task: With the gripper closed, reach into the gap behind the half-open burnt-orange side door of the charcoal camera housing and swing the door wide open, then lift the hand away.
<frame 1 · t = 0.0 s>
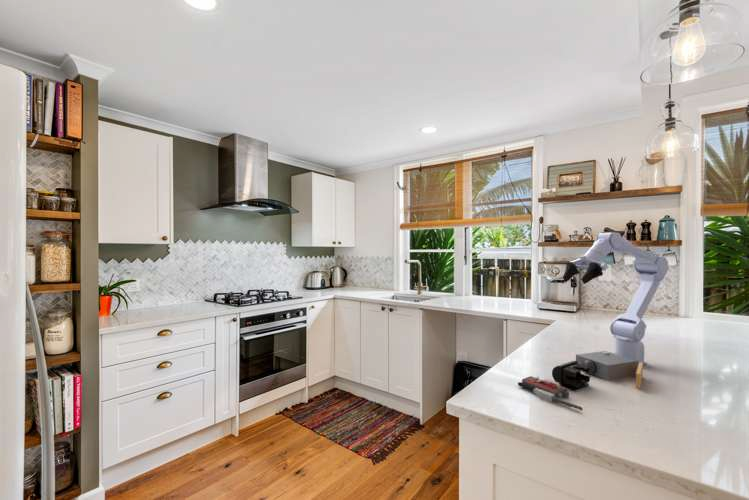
hand: (573, 280, 124), 32 cm above the counter, tool tilted 50°, fingers open, 7 cm apart
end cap: (570, 385, 111), on the counter
side door: (639, 374, 113), point 3 cm above the counter, hinge at 30.0°
camera housing: (606, 371, 123), on the counter
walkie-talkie: (552, 398, 102), on the counter
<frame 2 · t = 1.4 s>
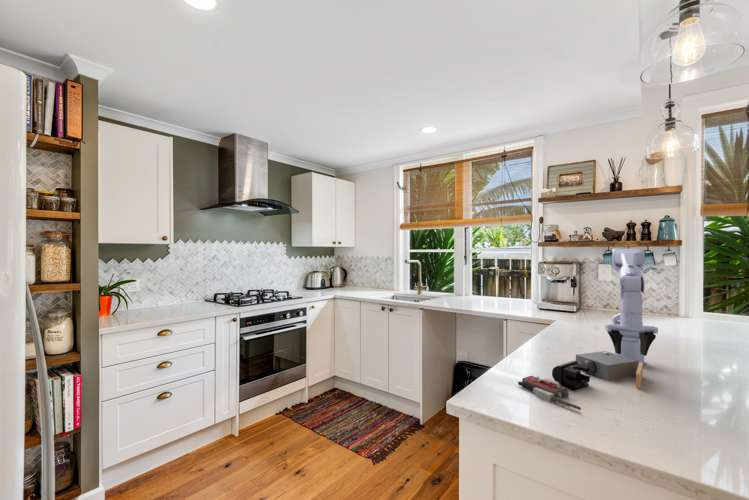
hand: (630, 354, 113), 9 cm above the counter, tool pointing down, fingers open, 7 cm apart
nothing on the counter moved.
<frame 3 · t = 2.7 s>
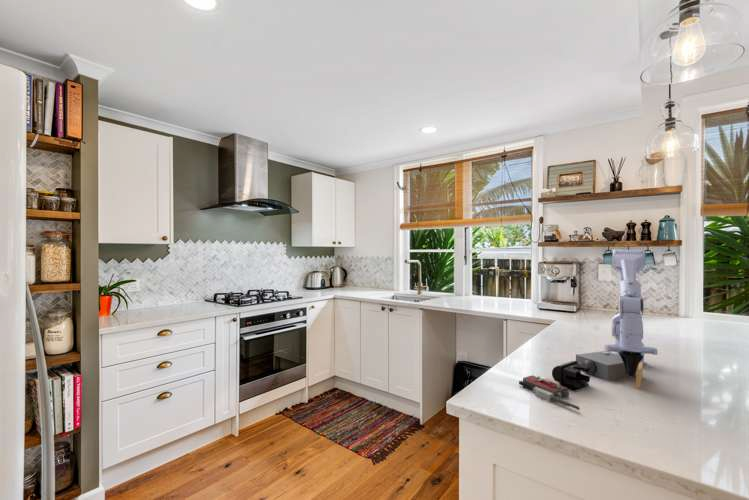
hand: (630, 374, 113), 3 cm above the counter, tool pointing down, fingers closed
side door: (639, 374, 113), point 3 cm above the counter, hinge at 30.0°, touching gripper
everything else where it was.
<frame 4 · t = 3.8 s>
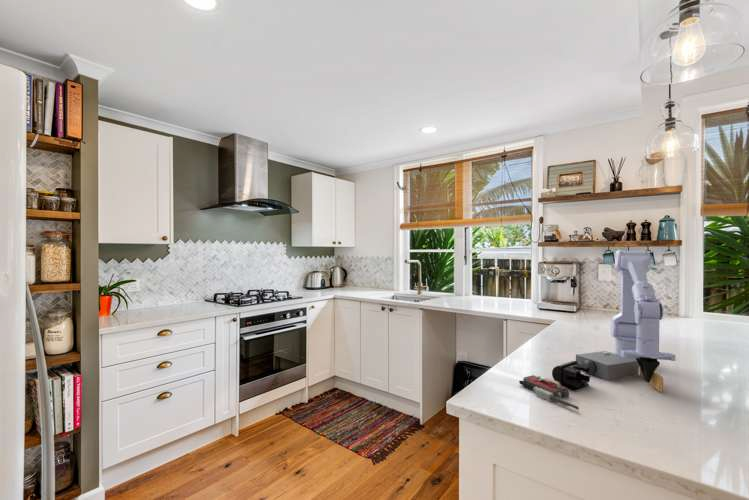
hand: (647, 381, 110), 2 cm above the counter, tool pointing down, fingers closed
side door: (650, 376, 112), point 3 cm above the counter, hinge at 52.5°, touching gripper
everything else where it was.
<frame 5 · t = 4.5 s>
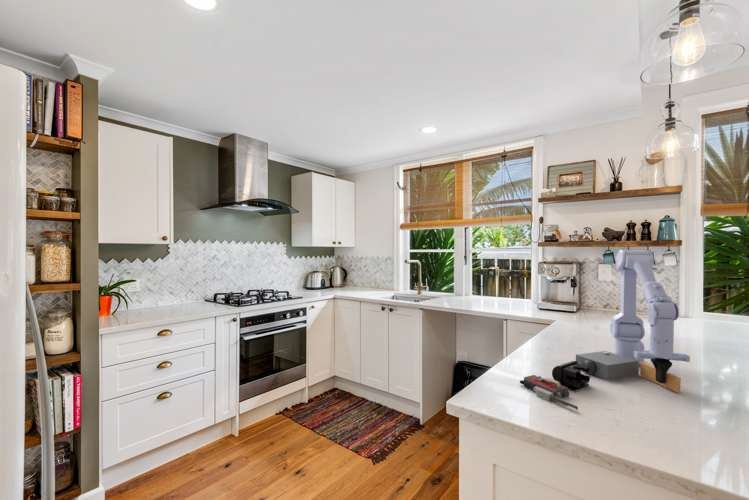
hand: (660, 382, 109), 2 cm above the counter, tool pointing down, fingers closed, pressing on side door
side door: (659, 376, 112), point 3 cm above the counter, hinge at 72.5°, touching gripper
everything else where it was.
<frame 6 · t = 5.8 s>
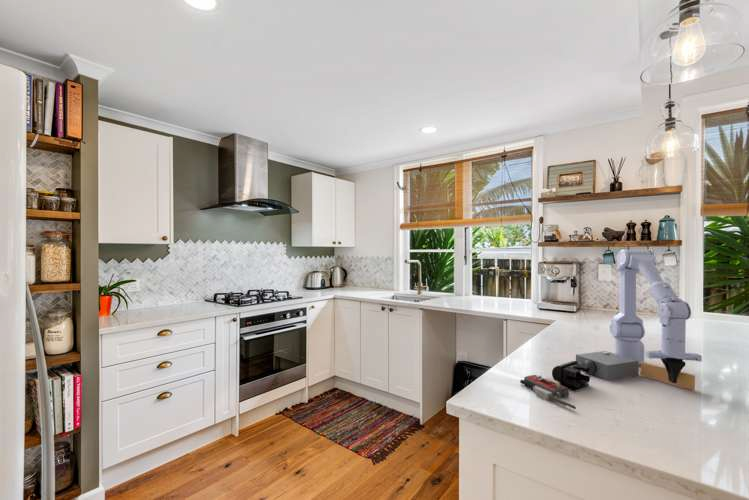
hand: (672, 382, 110), 2 cm above the counter, tool pointing down, fingers closed
side door: (666, 375, 113), point 3 cm above the counter, hinge at 100.2°, touching gripper
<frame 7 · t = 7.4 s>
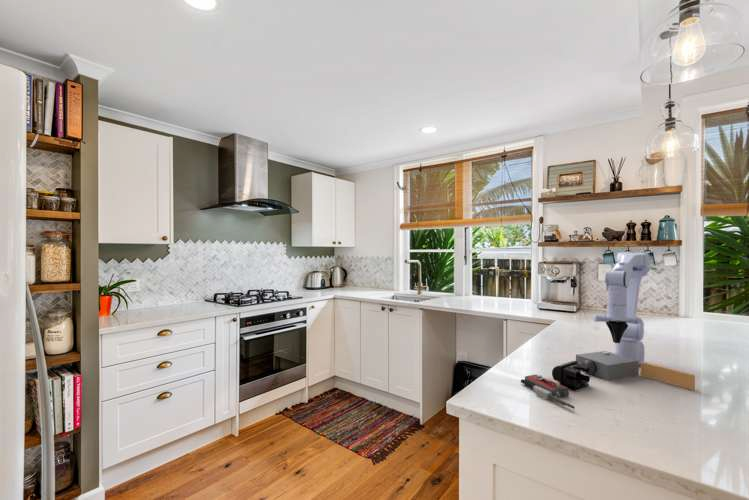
hand: (616, 342, 123), 10 cm above the counter, tool pointing down, fingers closed
side door: (666, 375, 113), point 3 cm above the counter, hinge at 100.8°
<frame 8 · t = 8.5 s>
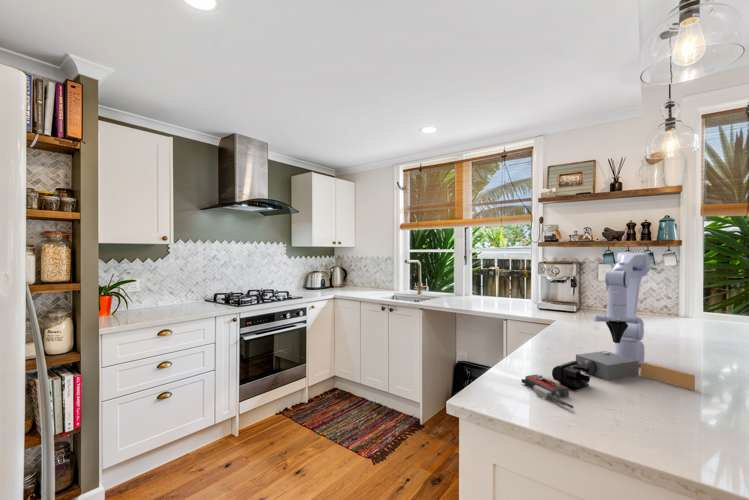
hand: (616, 342, 123), 10 cm above the counter, tool pointing down, fingers closed
at the end: side door at +101° (first picture: +30°); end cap moved 0.3 cm from its start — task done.
